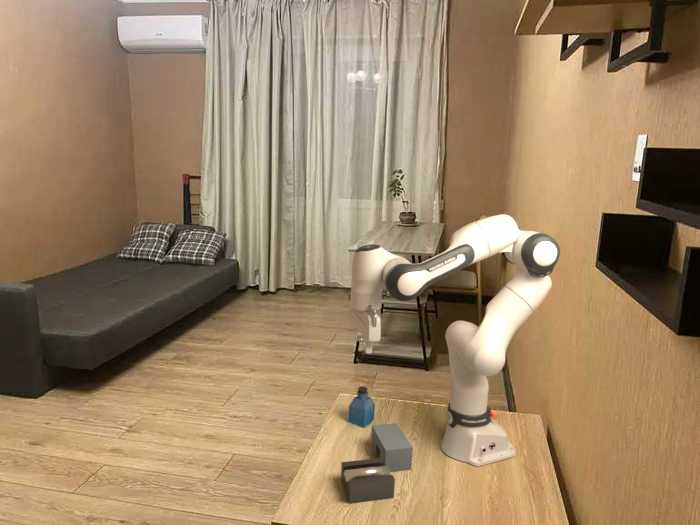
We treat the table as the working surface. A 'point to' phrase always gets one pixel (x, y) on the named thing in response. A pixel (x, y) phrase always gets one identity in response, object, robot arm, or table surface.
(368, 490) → the v block
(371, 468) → the axle
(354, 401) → the perfume bottle
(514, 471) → the table surface
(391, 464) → the grey block
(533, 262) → the robot arm
